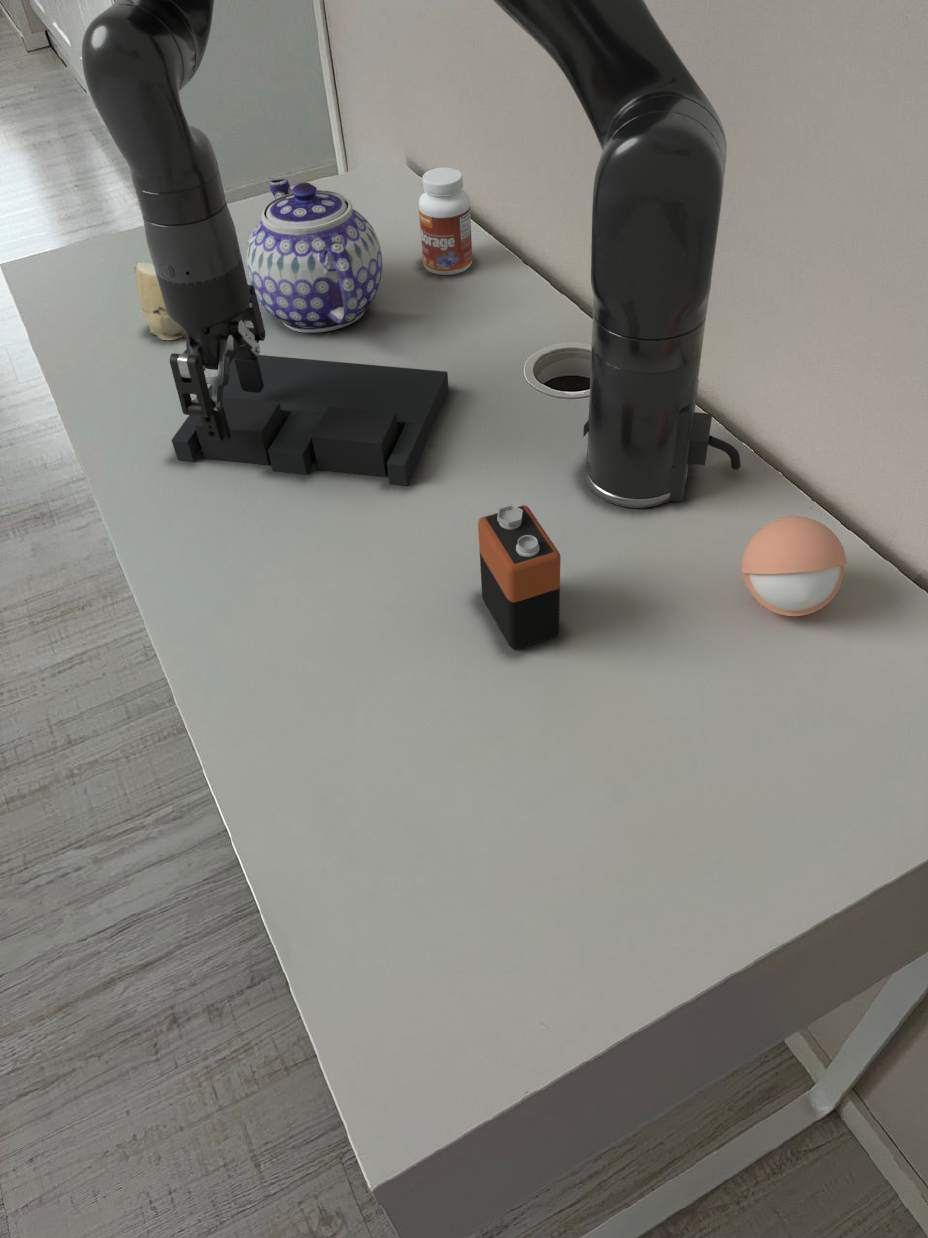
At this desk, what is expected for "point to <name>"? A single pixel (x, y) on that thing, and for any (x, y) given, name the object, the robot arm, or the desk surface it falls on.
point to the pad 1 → (245, 431)
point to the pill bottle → (445, 222)
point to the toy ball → (793, 565)
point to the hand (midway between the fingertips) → (237, 414)
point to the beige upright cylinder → (155, 304)
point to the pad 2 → (355, 441)
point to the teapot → (313, 258)
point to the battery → (519, 575)
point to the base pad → (335, 384)
